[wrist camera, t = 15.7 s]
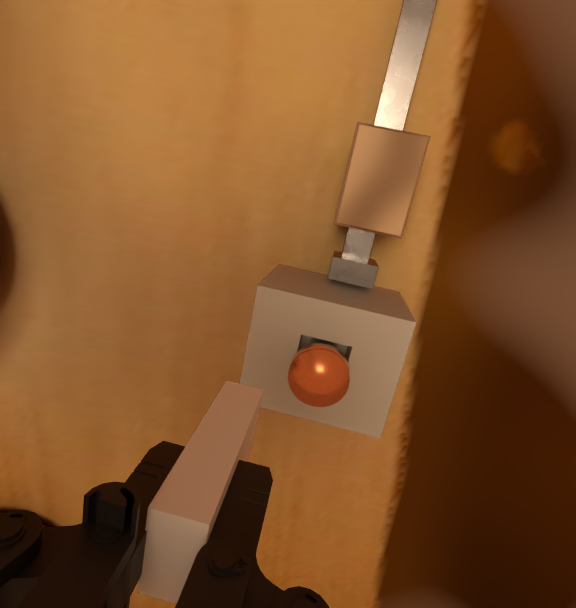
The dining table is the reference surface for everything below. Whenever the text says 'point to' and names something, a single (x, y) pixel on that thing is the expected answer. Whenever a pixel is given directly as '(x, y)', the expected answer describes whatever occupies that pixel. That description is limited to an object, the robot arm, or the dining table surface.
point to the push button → (319, 374)
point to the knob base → (335, 328)
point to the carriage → (381, 179)
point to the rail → (390, 114)
